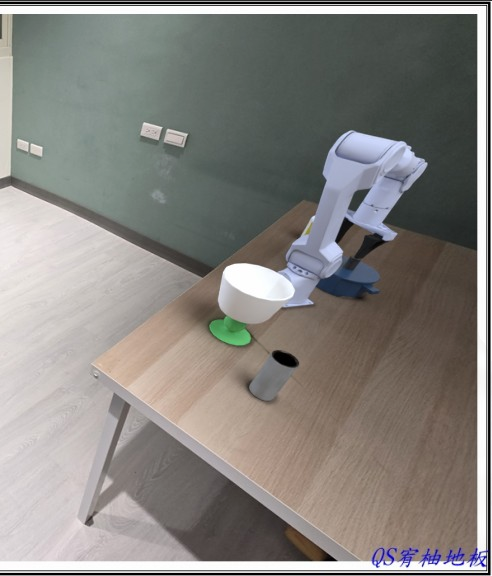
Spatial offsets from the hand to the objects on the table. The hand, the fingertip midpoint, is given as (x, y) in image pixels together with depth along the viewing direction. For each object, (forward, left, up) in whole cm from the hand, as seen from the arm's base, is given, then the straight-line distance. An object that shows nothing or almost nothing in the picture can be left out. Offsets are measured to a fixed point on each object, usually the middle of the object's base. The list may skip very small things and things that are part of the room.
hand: (345, 250), depth 102 cm
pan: (+2, -2, -10) cm, 11 cm away
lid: (+2, -2, -5) cm, 6 cm away
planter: (-46, -32, -11) cm, 57 cm away
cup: (-41, -15, -11) cm, 45 cm away
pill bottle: (+14, +20, -11) cm, 26 cm away
